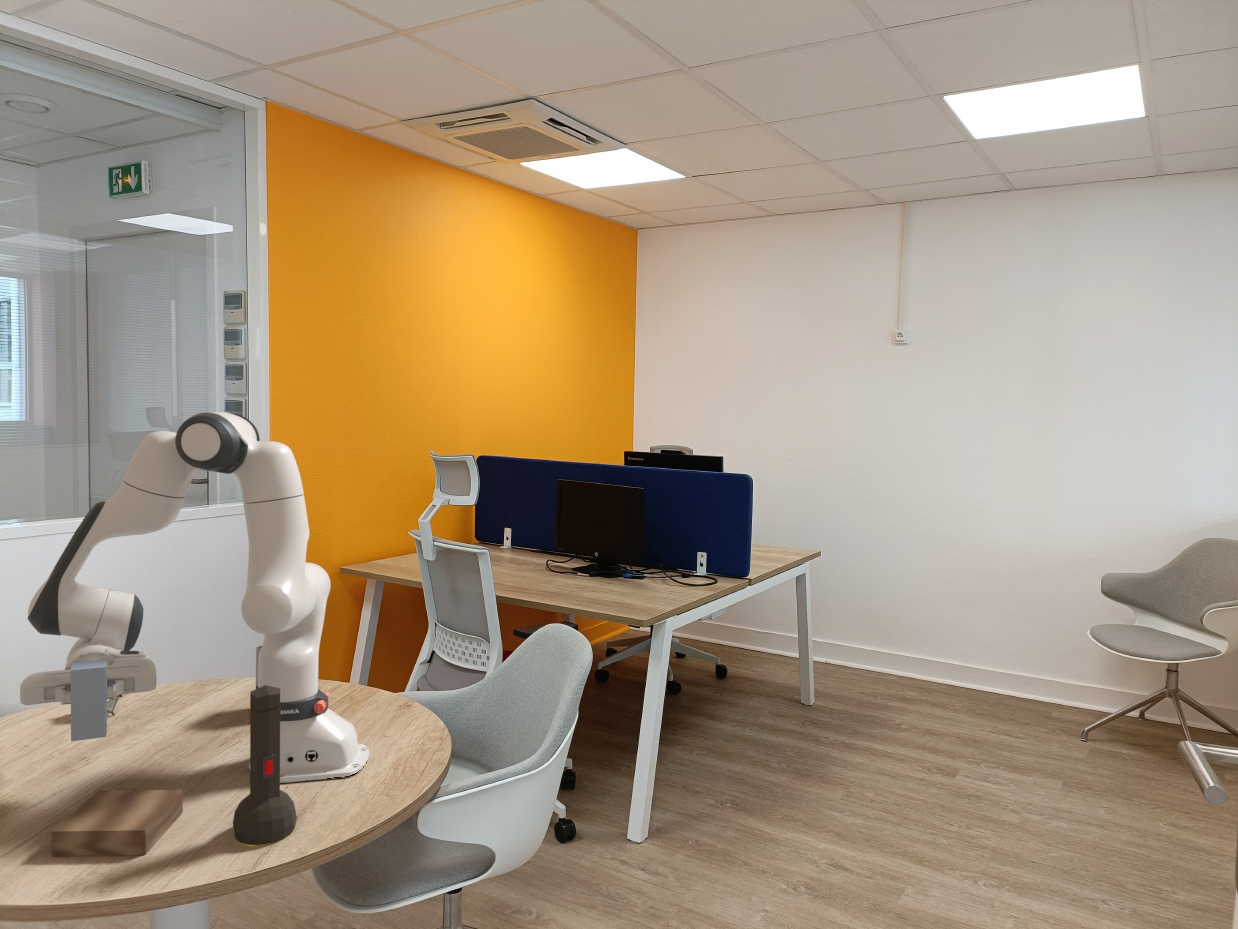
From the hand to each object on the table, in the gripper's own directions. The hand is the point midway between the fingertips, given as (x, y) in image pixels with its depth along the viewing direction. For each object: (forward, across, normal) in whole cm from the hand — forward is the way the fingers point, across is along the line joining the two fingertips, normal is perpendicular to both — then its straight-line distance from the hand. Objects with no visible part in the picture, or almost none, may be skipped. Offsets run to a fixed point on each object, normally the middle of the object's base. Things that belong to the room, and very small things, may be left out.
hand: (89, 697), depth 144 cm
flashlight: (+17, +26, +21) cm, 37 cm away
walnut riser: (+7, +5, +21) cm, 23 cm away
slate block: (-1, 0, +7) cm, 7 cm away
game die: (-53, 0, +22) cm, 57 cm away
